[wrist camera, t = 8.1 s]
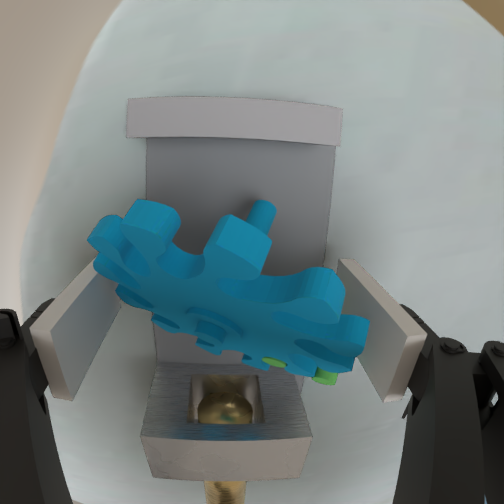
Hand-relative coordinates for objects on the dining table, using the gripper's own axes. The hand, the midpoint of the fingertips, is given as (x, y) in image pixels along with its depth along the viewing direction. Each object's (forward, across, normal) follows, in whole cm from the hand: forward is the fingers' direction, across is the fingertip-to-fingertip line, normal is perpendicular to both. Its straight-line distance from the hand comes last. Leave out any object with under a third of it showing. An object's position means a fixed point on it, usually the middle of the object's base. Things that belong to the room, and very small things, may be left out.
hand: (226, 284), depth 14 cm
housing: (+3, 0, +3) cm, 4 cm away
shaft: (+1, 0, +14) cm, 14 cm away
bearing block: (+3, 0, +8) cm, 9 cm away
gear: (+1, 0, 0) cm, 1 cm away
